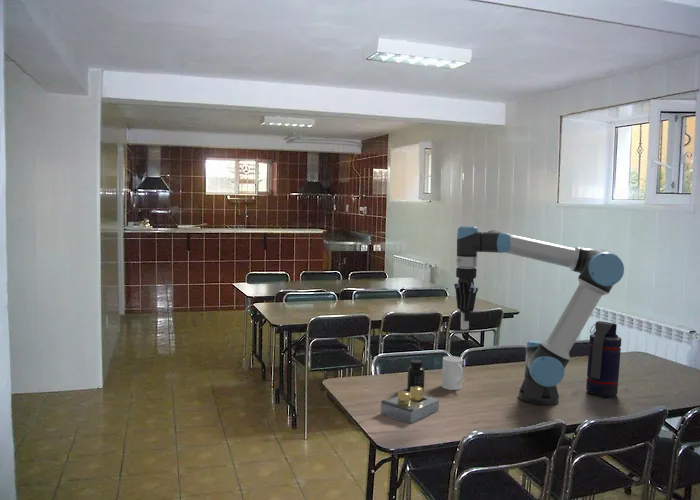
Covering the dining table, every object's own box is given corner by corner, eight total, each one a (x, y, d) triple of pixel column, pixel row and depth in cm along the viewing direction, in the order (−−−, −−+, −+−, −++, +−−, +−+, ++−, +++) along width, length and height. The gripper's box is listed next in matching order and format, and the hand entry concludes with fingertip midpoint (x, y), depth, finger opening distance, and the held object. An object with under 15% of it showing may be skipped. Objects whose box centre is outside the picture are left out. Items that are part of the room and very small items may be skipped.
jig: (438, 410, 215) (439, 389, 214) (410, 423, 201) (411, 401, 201) (409, 401, 223) (410, 381, 223) (380, 413, 210) (381, 392, 209)
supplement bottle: (426, 389, 239) (427, 360, 238) (420, 394, 233) (422, 364, 232) (410, 386, 242) (411, 358, 241) (404, 391, 236) (405, 362, 235)
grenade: (593, 387, 249) (598, 318, 246) (621, 394, 241) (627, 322, 238) (578, 394, 239) (583, 322, 237) (608, 402, 231) (613, 327, 228)
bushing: (424, 409, 216) (425, 388, 215) (417, 412, 212) (418, 391, 212) (413, 406, 219) (414, 385, 218) (406, 409, 215) (407, 388, 214)
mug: (469, 391, 238) (471, 363, 237) (450, 393, 235) (452, 364, 234) (455, 383, 249) (456, 355, 248) (437, 384, 246) (438, 356, 245)
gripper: (448, 265, 225) (447, 326, 227) (467, 269, 213) (465, 333, 215) (465, 265, 228) (463, 324, 230) (484, 269, 216) (482, 332, 218)
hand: (464, 328), depth 222 cm, fingers closed
